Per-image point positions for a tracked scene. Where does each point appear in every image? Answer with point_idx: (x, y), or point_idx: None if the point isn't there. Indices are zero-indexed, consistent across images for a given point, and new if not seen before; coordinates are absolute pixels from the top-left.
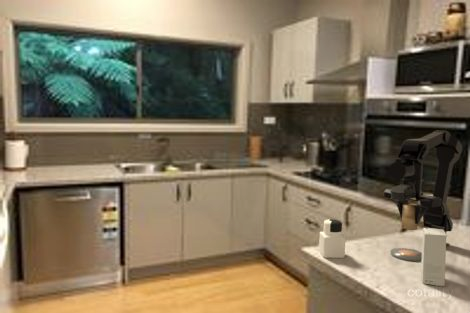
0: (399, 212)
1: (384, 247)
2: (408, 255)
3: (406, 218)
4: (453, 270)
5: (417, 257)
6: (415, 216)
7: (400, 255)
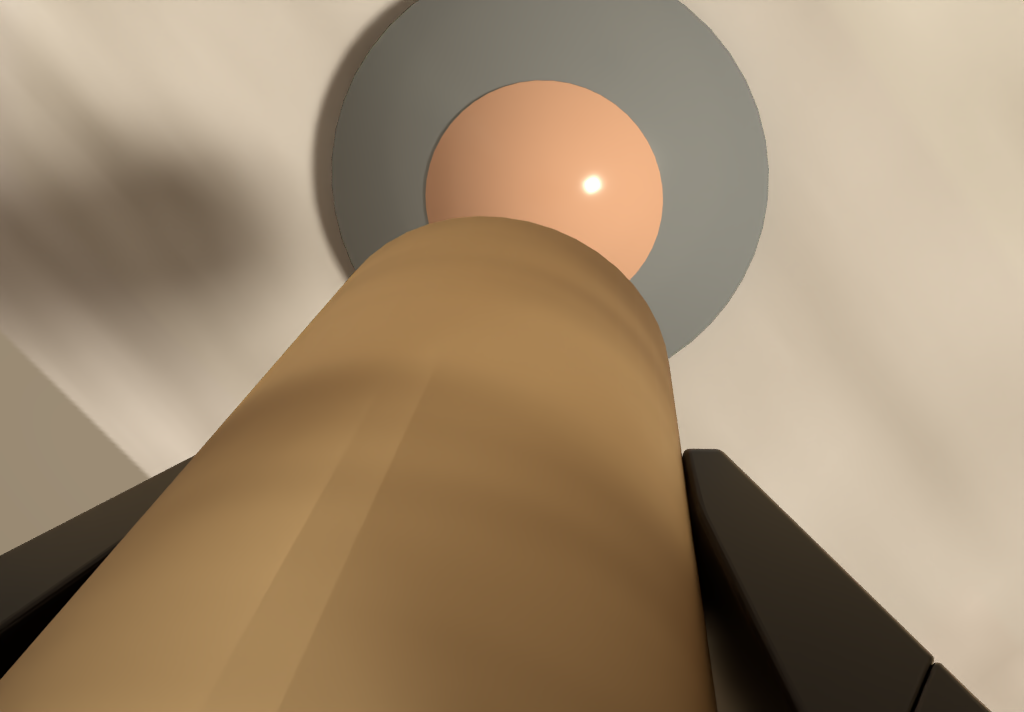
0: (857, 595)
1: (938, 184)
2: (468, 132)
3: (350, 354)
4: (35, 255)
5: (377, 186)
6: (84, 567)
7: (521, 26)
